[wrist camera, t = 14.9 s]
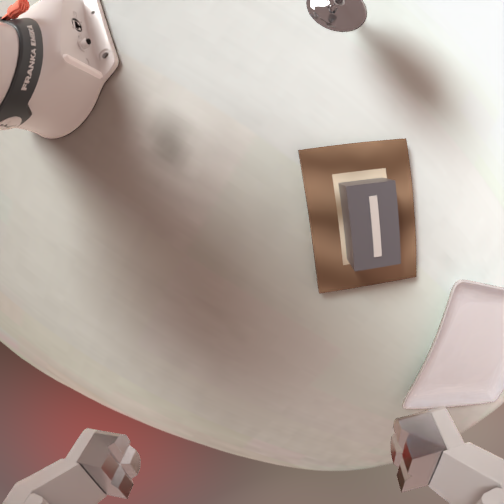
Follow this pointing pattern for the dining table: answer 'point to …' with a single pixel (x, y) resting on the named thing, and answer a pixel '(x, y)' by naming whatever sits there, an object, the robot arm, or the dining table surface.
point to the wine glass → (338, 13)
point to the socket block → (370, 223)
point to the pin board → (330, 212)
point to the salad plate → (464, 351)
